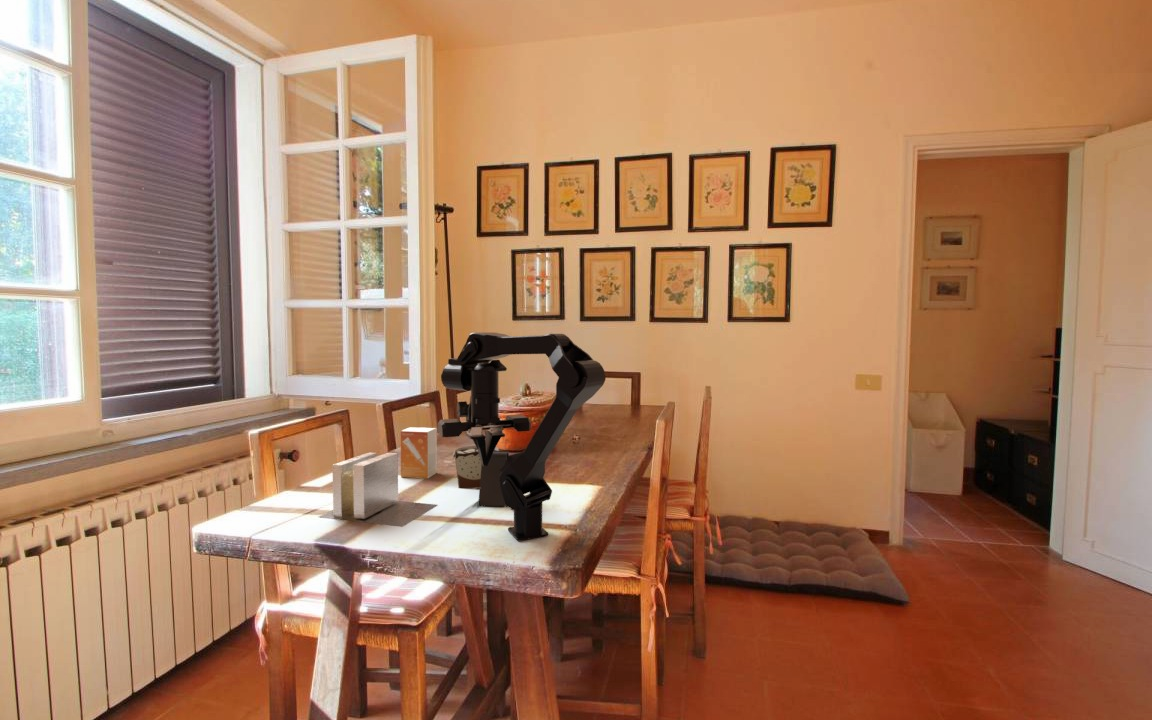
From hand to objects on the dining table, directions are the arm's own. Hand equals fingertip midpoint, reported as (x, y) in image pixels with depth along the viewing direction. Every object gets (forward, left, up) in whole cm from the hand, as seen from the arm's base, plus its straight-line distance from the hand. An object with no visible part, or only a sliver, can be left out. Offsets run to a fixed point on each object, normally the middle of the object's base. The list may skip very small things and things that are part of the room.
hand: (485, 465), depth 114 cm
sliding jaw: (+12, +21, -10) cm, 26 cm away
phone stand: (+13, -6, -12) cm, 19 cm away
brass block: (+14, +23, -10) cm, 29 cm away
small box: (+44, +7, -12) cm, 46 cm away
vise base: (+12, +20, -12) cm, 26 cm away
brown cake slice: (+28, -5, -12) cm, 31 cm away
